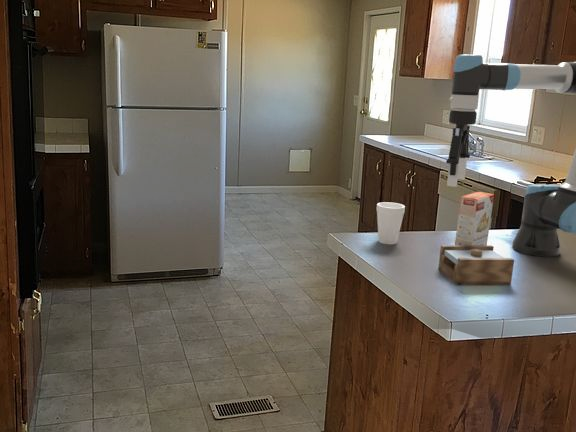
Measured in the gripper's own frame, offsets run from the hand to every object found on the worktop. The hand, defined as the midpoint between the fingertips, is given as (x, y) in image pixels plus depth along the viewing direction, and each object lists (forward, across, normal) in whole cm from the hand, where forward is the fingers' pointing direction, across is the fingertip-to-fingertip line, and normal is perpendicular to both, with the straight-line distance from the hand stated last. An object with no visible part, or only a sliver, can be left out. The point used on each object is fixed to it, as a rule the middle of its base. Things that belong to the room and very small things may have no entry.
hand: (456, 182), depth 178 cm
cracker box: (+27, -13, +5) cm, 30 cm away
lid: (+21, +6, +9) cm, 24 cm away
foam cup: (+26, -16, -24) cm, 39 cm away
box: (+26, +6, +8) cm, 28 cm away
